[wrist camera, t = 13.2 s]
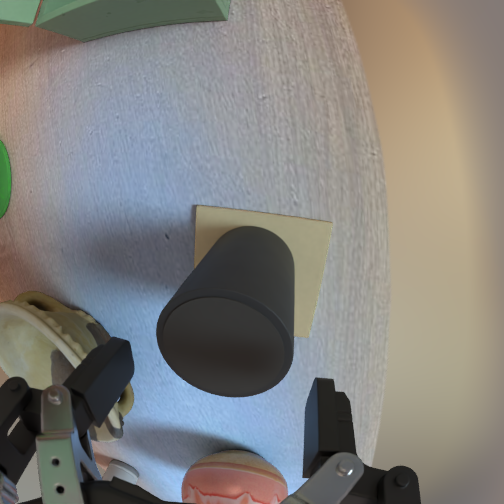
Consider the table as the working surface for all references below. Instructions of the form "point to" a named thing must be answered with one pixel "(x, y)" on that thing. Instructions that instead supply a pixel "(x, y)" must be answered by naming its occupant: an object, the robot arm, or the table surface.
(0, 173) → the mushroom figurine
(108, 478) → the travel mug
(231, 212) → the mat
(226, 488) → the vase
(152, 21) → the green open box
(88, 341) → the bowl
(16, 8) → the box lid
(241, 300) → the dark grey cylinder
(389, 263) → the table surface
